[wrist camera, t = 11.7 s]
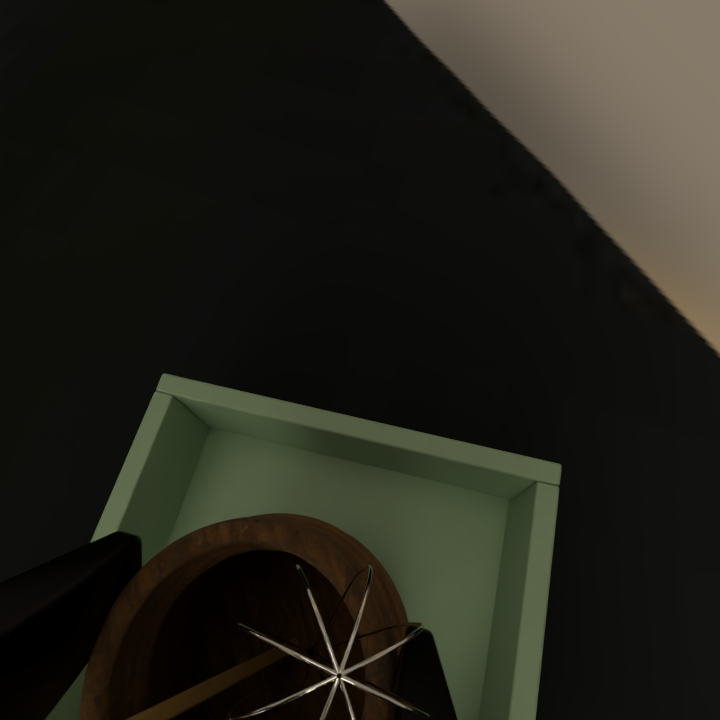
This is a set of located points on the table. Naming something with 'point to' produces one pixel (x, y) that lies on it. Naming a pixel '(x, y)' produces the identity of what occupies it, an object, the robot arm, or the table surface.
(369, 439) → the tray
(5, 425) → the table surface
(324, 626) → the utensil holder
